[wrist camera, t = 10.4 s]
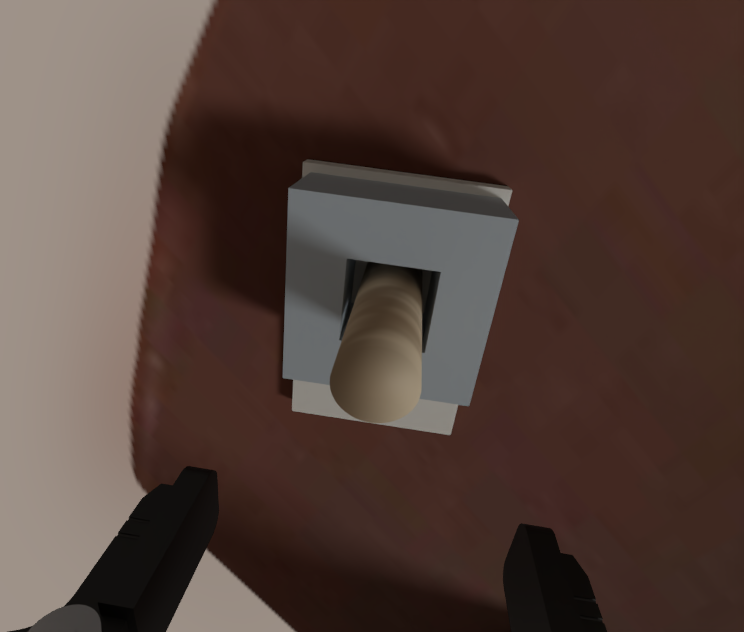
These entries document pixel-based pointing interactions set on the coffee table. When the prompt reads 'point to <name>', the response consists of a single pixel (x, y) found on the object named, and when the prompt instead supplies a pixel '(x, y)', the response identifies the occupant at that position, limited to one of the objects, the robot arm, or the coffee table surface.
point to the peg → (381, 346)
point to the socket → (401, 248)
